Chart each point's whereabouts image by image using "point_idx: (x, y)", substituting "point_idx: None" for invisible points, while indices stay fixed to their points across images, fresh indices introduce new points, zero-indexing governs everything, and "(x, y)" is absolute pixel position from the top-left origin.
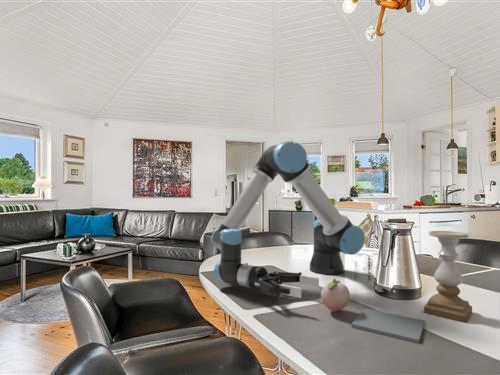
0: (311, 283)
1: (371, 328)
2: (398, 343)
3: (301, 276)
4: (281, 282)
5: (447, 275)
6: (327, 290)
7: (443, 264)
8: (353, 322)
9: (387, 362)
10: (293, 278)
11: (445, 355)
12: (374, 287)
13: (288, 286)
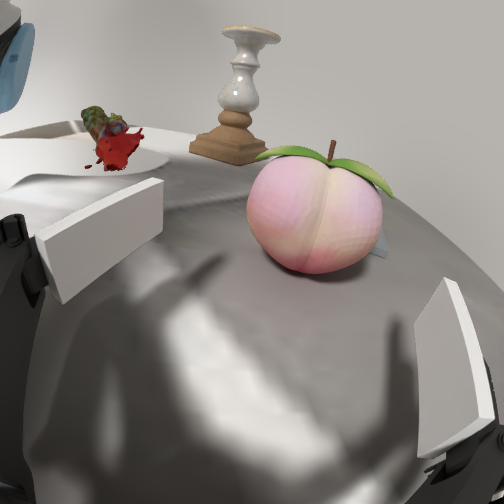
0: (132, 238)
1: (383, 231)
2: (396, 224)
3: (60, 239)
4: (21, 466)
5: (257, 95)
6: (380, 203)
7: (247, 79)
8: (376, 246)
9: (455, 251)
10: (16, 316)
11: (390, 204)
12: (109, 162)
13: (480, 349)
